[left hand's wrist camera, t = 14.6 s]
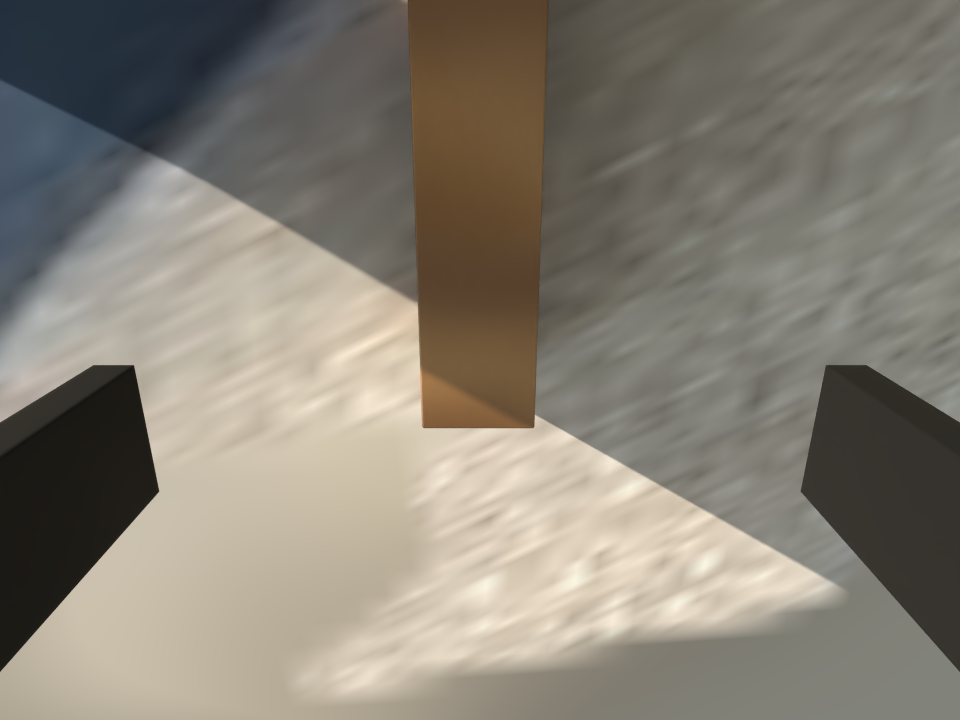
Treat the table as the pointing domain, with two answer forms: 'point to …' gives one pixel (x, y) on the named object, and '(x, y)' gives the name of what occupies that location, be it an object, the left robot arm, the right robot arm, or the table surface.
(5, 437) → the left robot arm
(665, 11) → the table surface
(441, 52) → the beam
